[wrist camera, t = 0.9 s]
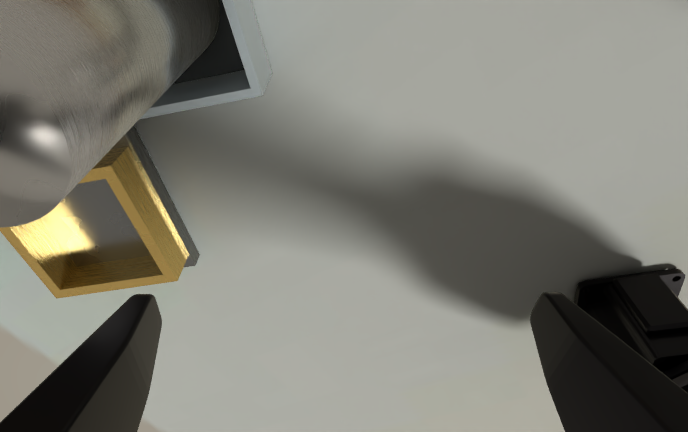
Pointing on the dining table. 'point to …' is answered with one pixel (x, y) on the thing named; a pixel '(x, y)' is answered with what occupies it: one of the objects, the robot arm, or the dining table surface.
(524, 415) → the dining table surface
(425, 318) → the dining table surface
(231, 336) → the dining table surface
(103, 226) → the gold holder tray
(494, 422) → the dining table surface
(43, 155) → the billet
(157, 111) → the grey square dish
